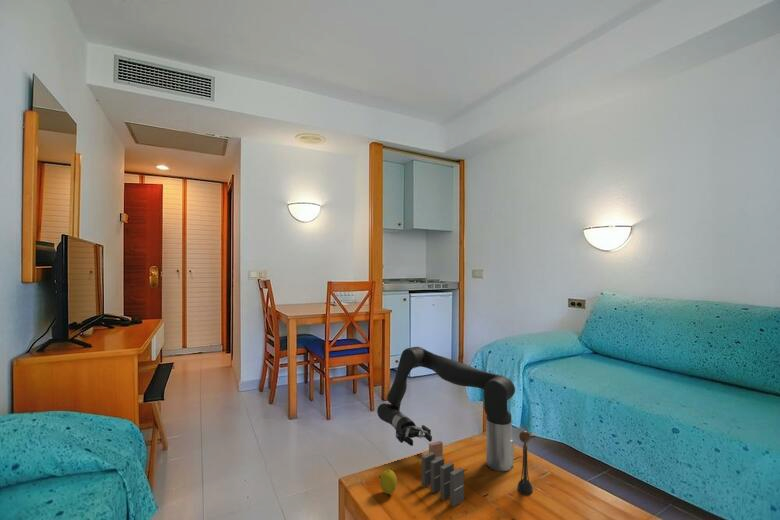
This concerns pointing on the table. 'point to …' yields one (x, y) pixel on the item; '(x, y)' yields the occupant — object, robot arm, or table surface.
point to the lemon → (388, 481)
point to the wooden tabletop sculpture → (524, 484)
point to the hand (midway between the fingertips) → (421, 441)
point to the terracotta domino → (436, 449)
